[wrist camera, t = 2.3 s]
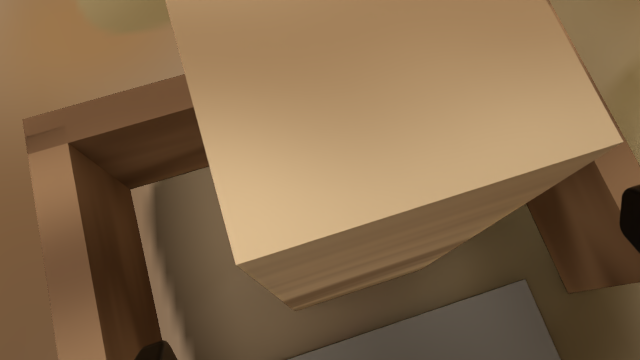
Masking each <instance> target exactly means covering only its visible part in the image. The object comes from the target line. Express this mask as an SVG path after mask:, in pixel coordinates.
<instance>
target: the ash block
mask: <svg viewBox="0 0 640 360" xmlns="http://www.w3.org/2000/svg"><path fill="white" fill-rule="evenodd" d="M165 1H166V5H167V9H168V13H169V16H170V20H171V24H172V28H173V31H174V35H175V39H176V42H177V46H178V50H179V54H180V57H181V61H182V65H183V69H184V73H185V76H186V80H187V84H188V88H189V91H190V95H191V99H192V103H193V106H194V110H195V114H196V118H197V121H198V125H199V129H200V133H201V136H202V140H203V144H204V147H205V151H206V155H207V159H208V162H209V166H210V170H211V174H212V177H213V181H214V185H215V189H216V192H217V196H218V200H219V204H220V207H221V211H222V215H223V219H224V222H225V226H226V230H227V234H228V237H229V241H230V245H231V249H232V252H233V256H234V260H235V264H236V266H238V267H239V268H240V269H242V270H243V271H244V272H245V273H247V274H248V275H249V276H251V277H252V278H253V279H254V280H256V281H257V282H258V283H259V284H261V285H262V286H263V287H265V288H266V289H267V290H268V291H270V292H271V293H272V294H274V295H275V296H276V297H277V298H279V299H280V300H281V301H283V302H284V303H285V304H286V305H288V306H289V307H290V308H291V309H293V310H294V311H297V310H300V309H303V308H306V307H309V306H312V305H315V304H318V303H321V302H324V301H327V300H330V299H333V298H336V297H339V296H342V295H345V294H349V293H352V292H355V291H358V290H361V289H364V288H367V287H370V286H373V285H376V284H379V283H382V282H385V281H388V280H391V279H394V278H397V277H400V276H403V275H406V274H409V273H412V272H415V271H418V270H421V269H423V268H424V267H426V266H427V265H429V264H431V263H432V262H434V261H435V260H437V259H439V258H440V257H442V256H443V255H445V254H446V253H448V252H450V251H451V250H453V249H454V248H456V247H458V246H459V245H461V244H462V243H464V242H465V241H467V240H469V239H470V238H472V237H473V236H475V235H477V234H478V233H480V232H481V231H483V230H484V229H486V228H488V227H489V226H491V225H492V224H494V223H496V222H497V221H499V220H500V219H502V218H504V217H505V216H507V215H508V214H510V213H511V212H513V211H515V210H516V209H518V208H519V207H521V206H523V205H524V204H526V203H527V202H529V201H530V200H532V199H534V198H535V197H537V196H538V195H540V194H542V193H543V192H545V191H546V190H548V189H550V188H551V187H553V186H554V185H556V184H557V183H559V182H561V181H562V180H564V179H565V178H567V177H569V176H570V175H572V174H573V173H575V172H576V171H578V170H580V169H581V168H583V167H584V166H586V165H588V164H589V163H591V162H592V161H594V160H595V159H597V158H599V157H600V156H602V155H603V154H605V153H607V152H608V151H610V150H611V149H613V148H615V147H616V146H618V145H619V144H621V143H622V142H623V140H622V138H621V136H620V135H619V133H618V131H617V129H616V127H615V125H614V124H613V122H612V120H611V118H610V116H609V114H608V113H607V111H606V109H605V107H604V105H603V103H602V102H601V100H600V98H599V96H598V94H597V92H596V91H595V89H594V87H593V85H592V83H591V81H590V80H589V78H588V76H587V74H586V72H585V70H584V69H583V67H582V65H581V63H580V61H579V59H578V58H577V56H576V54H575V52H574V50H573V48H572V47H571V45H570V43H569V41H568V39H567V37H566V36H565V34H564V32H563V30H562V28H561V26H560V24H559V23H558V21H557V19H556V17H555V15H554V13H553V12H552V10H551V8H550V6H549V4H548V2H547V1H546V0H165Z"/></svg>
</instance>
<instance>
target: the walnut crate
mask: <svg viewBox="0 0 640 360" xmlns="http://www.w3.org/2000/svg"><path fill="white" fill-rule="evenodd" d="M546 1H547V2H548V4H549V6H550V8H551V10H552V12H553V13H554V15H555V17H556V19H557V21H558V23H559V24H560V26H561V28H562V30H563V32H564V34H565V36H566V37H567V39H568V41H569V43H570V45H571V47H572V48H573V50H574V52H575V54H576V56H577V58H578V59H579V61H580V63H581V65H582V67H583V69H584V70H585V72H586V74H587V76H588V78H589V80H590V81H591V83H592V85H593V87H594V89H595V91H596V92H597V94H598V96H599V98H600V100H601V102H602V103H603V105H604V107H605V109H606V111H607V113H608V114H609V116H610V118H611V120H612V122H613V124H614V125H615V127H616V129H617V131H618V133H619V135H620V136H621V138H622V140H623V142H622V143H621V144H619V145H618V146H616V147H615V148H613V149H611V150H610V151H608V152H607V153H605V154H603V155H602V156H600V157H599V158H597V159H595V160H594V161H592V162H591V163H589V164H588V165H586V166H584V167H583V168H581V169H580V170H578V171H576V172H575V173H573V174H572V175H570V176H569V177H567V178H565V179H564V180H562V181H561V182H559V183H557V184H556V185H554V186H553V187H551V188H550V189H548V190H546V191H545V192H543V193H542V194H540V195H538V196H537V197H535V198H534V199H532V200H530V201H529V202H527V205H528V208H529V210H530V212H531V214H532V216H533V218H534V221H535V223H536V225H537V227H538V229H539V231H540V234H541V236H542V238H543V240H544V242H545V244H546V247H547V249H548V251H549V253H550V255H551V257H552V260H553V262H554V264H555V266H556V268H557V270H558V273H559V275H560V277H561V279H562V281H563V283H564V286H565V288H566V290H567V292H568V293H574V292H580V291H586V290H593V289H599V288H605V287H612V286H618V285H625V284H631V283H637V282H640V253H639V252H638V251H637V250H636V249H635V248H634V247H633V246H632V244H631V243H630V242H629V241H628V240H627V239H626V238H625V236H624V235H623V233H622V232H621V229H620V225H619V219H620V209H621V199H622V194H623V192H624V191H625V190H626V189H627V188H630V187H633V186H636V185H639V184H640V166H639V164H638V162H637V160H636V158H635V156H634V155H633V153H632V151H631V149H630V147H629V146H628V144H627V142H626V140H625V138H624V136H623V135H622V133H621V131H620V129H619V127H618V125H617V124H616V122H615V120H614V118H613V116H612V114H611V113H610V111H609V109H608V107H607V105H606V103H605V102H604V100H603V98H602V96H601V94H600V92H599V91H598V89H597V87H596V85H595V83H594V81H593V80H592V78H591V76H590V74H589V72H588V71H587V69H586V67H585V65H584V63H583V61H582V60H581V58H580V56H579V54H578V52H577V50H576V49H575V47H574V45H573V43H572V41H571V39H570V38H569V36H568V34H567V32H566V30H565V28H564V27H563V25H562V23H561V21H560V19H559V17H558V16H557V14H556V12H555V10H554V8H553V6H552V5H551V3H550V1H549V0H546ZM23 126H24V133H25V139H26V146H27V153H28V160H29V166H30V172H31V180H32V186H33V192H34V200H35V206H36V213H37V219H38V226H39V233H40V239H41V246H42V253H43V259H44V266H45V273H46V279H47V286H48V292H49V299H50V306H51V312H52V319H53V326H54V333H55V339H56V346H57V352H58V359H59V360H134V359H135V357H136V356H137V354H138V353H139V351H140V350H141V349H142V348H143V347H144V346H146V345H150V344H153V343H156V342H159V341H162V338H161V333H160V328H159V323H158V318H157V314H156V309H155V304H154V300H153V295H152V290H151V286H150V281H149V276H148V271H147V267H146V262H145V257H144V253H143V248H142V243H141V238H140V234H139V229H138V224H137V220H136V215H135V211H134V205H133V201H132V196H131V191H130V189H133V188H137V187H140V186H143V185H146V184H150V183H154V182H157V181H160V180H164V179H167V178H170V177H174V176H177V175H180V174H184V173H187V172H190V171H194V170H197V169H201V168H204V167H207V166H209V162H208V159H207V155H206V151H205V147H204V144H203V140H202V136H201V133H200V129H199V125H198V121H197V118H196V114H195V110H194V106H193V103H192V99H191V95H190V91H189V88H188V84H187V80H186V76H185V74H183V75H180V76H176V77H173V78H169V79H165V80H162V81H158V82H155V83H151V84H148V85H144V86H140V87H137V88H133V89H130V90H126V91H123V92H119V93H115V94H112V95H108V96H105V97H101V98H98V99H94V100H90V101H87V102H83V103H80V104H76V105H73V106H69V107H65V108H62V109H59V110H55V111H51V112H47V113H44V114H40V115H37V116H33V117H30V118H26V119H23Z"/></svg>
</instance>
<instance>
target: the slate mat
mask: <svg viewBox="0 0 640 360" xmlns="http://www.w3.org/2000/svg"><path fill="white" fill-rule="evenodd" d="M287 360H561V359H560V357H559V355H558V353H557V350H556V348H555V346H554V343H553V341H552V339H551V337H550V334H549V332H548V330H547V328H546V325H545V323H544V321H543V318H542V316H541V314H540V312H539V309H538V307H537V305H536V303H535V300H534V298H533V296H532V293H531V291H530V289H529V287H528V284H527V282H526V280H525V279H524V280H521V281H518V282H515V283H512V284H509V285H506V286H503V287H500V288H497V289H494V290H491V291H488V292H485V293H482V294H479V295H476V296H473V297H470V298H467V299H464V300H462V301H459V302H456V303H453V304H450V305H447V306H444V307H441V308H438V309H435V310H432V311H429V312H426V313H423V314H420V315H417V316H414V317H411V318H408V319H405V320H402V321H400V322H397V323H394V324H391V325H388V326H385V327H382V328H379V329H376V330H373V331H370V332H367V333H364V334H361V335H358V336H355V337H352V338H349V339H346V340H343V341H341V342H338V343H335V344H332V345H329V346H326V347H323V348H320V349H317V350H314V351H311V352H308V353H305V354H302V355H299V356H296V357H293V358H290V359H287Z"/></svg>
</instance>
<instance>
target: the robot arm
mask: <svg viewBox="0 0 640 360" xmlns="http://www.w3.org/2000/svg"><path fill="white" fill-rule="evenodd" d="M619 225H620V229H621V232H622V233H623V235H624V236H625V238H626V239H627V240H628V241H629V242H630V243H631V244H632V246H633V247H634V248H635V249H636V250H637V251H638V252H639V253H640V184H639V185H636V186H633V187H630V188H627V189H626V190H625V191H624V192H623V194H622V199H621V209H620V219H619ZM134 360H177V358H176V356H175V354H174V352H173V350H172V348H171V347H170V345H169V344H168V343H167V342H166V341H163V340H162V341H159V342H156V343H153V344H150V345H146V346H144V347H143V348H142V349H141V350H140V351H139V353H138V354H137V356H136V357H135V359H134Z"/></svg>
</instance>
